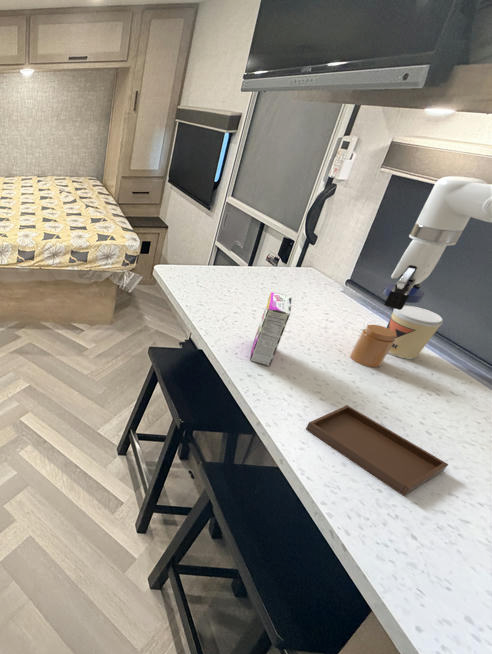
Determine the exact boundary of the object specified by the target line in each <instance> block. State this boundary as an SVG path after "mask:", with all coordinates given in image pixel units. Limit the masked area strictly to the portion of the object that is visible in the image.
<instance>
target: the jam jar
mask: <svg viewBox="0 0 492 654" xmlns="http://www.w3.org/2000/svg"><path fill="white" fill-rule="evenodd" d="M386 327H387V326H383V325H379V324H368V325H366V328H364V329H362V331H361V333H360V335H359V336H358V339H357V340H356V342H355V344H354V346H353V348H352V350H351V352H350V354H349V357H350V358H351V360H353V361H354V362H356V363H357V364H359V365H361V366H365V367H370V368H380V367H381V366H382V364H383V363H384V361H385V359H386V357H387V356H388V355H389V353H388V352H389V350H390V349H391V347H392V345H393V343H394V342H395V337H396V333H395V332H394V331H392V330H391V329H388V328H386Z"/></svg>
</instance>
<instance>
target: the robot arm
mask: <svg viewBox="0 0 492 654" xmlns="http://www.w3.org/2000/svg"><path fill="white" fill-rule="evenodd" d="M425 201H426V202H425V203H424V205H423V208H422V209H421V211H420V213H419V215H418V218H417V220H416V222H415V223H414V225H413V227H412V229H411V231H410V233H409V235H408V237H409V238H410V239H411V242H410V243H409V245H408V246H407V248H406V249H405V251H404V252H403V254H402V256H401V258H400V259H399V261H398V263H397V265H396V266H395V269H394V271H393V272H392V274H391V276H390V278H391V279H392V280H395V279H396V280H397V281H396V283H394V284H395V286H394V287H393V289H392V290H391V292H390V294H389V296H388V297H387V298H386V299H385V302H384V306H386V307H389V308H392V309H398V310H401V309H402V308H403V306H406V303H407V302H406V301H407V299H408V297H409V295H408V294H409V292H410V290H411V289H412V287H413V288H416V289H419V290H420V289H421V285H422V283H423V281H425V280H426V279H427V278H428V277H429V276H430V275H431V273H432V272H433V271H434V269H435V267H436V266H437V264H438V263H439V261H440V259H441V257H442V255H443V253H445V249H446V248H447V246H448V247H449V246H455V245H457V243H458V241H459V239H460V237H461V235H462V234H463V231H464V230H465V228H466V226H467V225H468V223H469V221H470V219H471V218H473V219H476V220H479V221H483V222H486V223H492V183H491V184H490V183H487V182H486V181H485V180H483V179H480V178H475V177H468V176H457V175H455V176H454V175H453V176H452V175H451V176H443V177H441V178H439V179H438V180H437V181H436V182H435V184H434V185H433V187H432V189H431V192H430V193H429V195H428V197H427V200H425ZM407 286H409V287H407Z"/></svg>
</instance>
